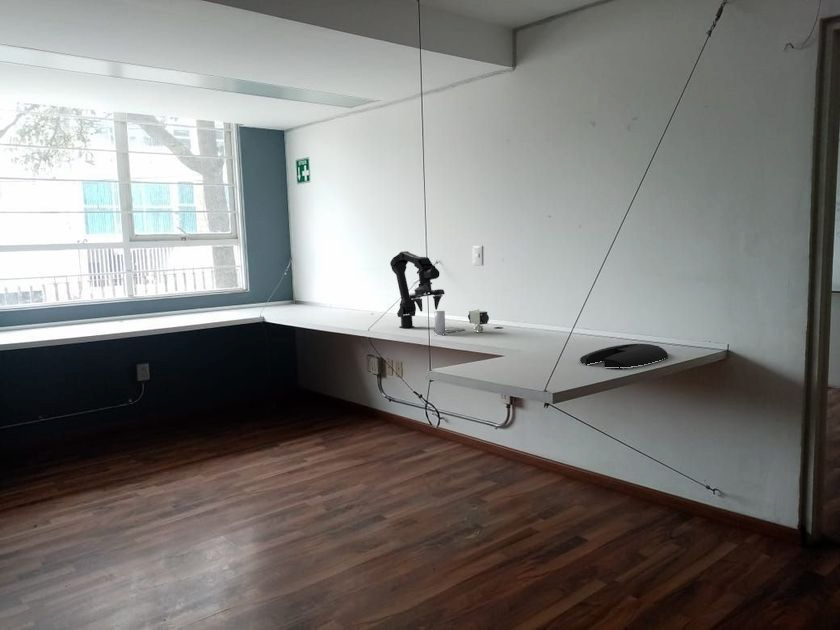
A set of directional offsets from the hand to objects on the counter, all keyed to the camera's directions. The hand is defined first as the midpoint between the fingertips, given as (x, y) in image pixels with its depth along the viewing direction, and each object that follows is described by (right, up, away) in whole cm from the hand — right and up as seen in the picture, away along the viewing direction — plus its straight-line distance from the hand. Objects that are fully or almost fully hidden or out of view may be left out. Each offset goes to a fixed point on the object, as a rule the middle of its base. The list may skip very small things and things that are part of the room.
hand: (428, 310), depth 357 cm
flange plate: (+11, -11, +3) cm, 16 cm away
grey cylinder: (+6, -12, -8) cm, 16 cm away
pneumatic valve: (+26, -11, -5) cm, 29 cm away
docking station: (+78, -21, -87) cm, 118 cm away
